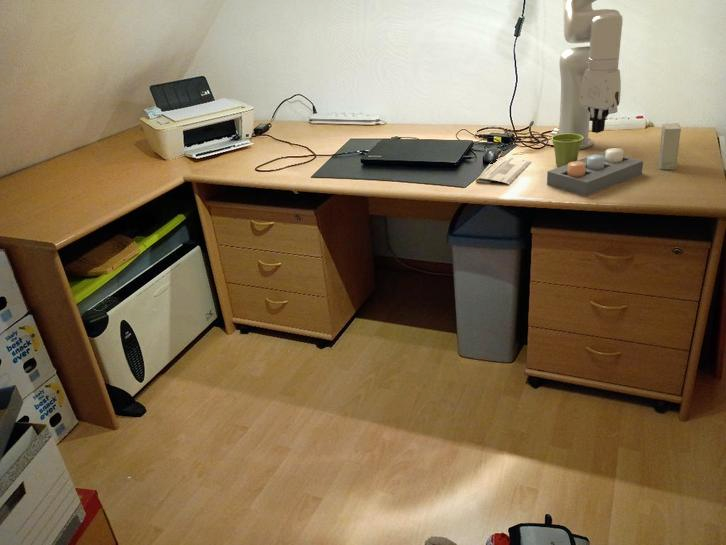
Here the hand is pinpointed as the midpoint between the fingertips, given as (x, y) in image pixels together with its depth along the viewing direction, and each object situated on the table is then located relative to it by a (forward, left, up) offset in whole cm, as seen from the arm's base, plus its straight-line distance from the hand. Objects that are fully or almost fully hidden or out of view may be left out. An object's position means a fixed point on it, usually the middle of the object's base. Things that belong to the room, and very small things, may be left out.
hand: (597, 131), depth 172 cm
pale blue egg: (0, 0, -12) cm, 12 cm away
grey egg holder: (0, 0, -14) cm, 14 cm away
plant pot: (-15, +5, -14) cm, 21 cm away
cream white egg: (0, +8, -12) cm, 14 cm away
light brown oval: (0, -8, -12) cm, 14 cm away
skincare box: (+8, +22, -14) cm, 27 cm away
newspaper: (-24, -14, -15) cm, 32 cm away
